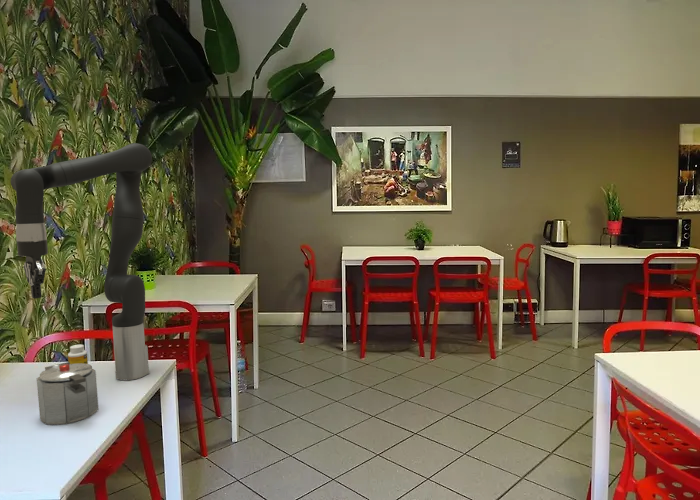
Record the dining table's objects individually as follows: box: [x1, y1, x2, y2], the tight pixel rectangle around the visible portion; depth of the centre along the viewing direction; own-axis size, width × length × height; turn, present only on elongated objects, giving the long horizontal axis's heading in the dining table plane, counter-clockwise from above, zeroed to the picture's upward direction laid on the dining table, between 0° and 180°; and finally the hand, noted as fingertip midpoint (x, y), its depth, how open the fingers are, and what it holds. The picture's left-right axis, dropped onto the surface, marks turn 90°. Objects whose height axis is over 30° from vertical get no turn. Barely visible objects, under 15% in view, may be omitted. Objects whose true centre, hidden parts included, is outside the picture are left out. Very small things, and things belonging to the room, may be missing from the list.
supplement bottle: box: [67, 344, 89, 364], centre depth 170 cm, size 6×6×10 cm
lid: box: [39, 361, 93, 384], centre depth 139 cm, size 12×19×2 cm, turn 45°
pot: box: [36, 368, 99, 426], centre depth 140 cm, size 14×18×11 cm
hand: (36, 297), depth 154 cm, fingers closed
